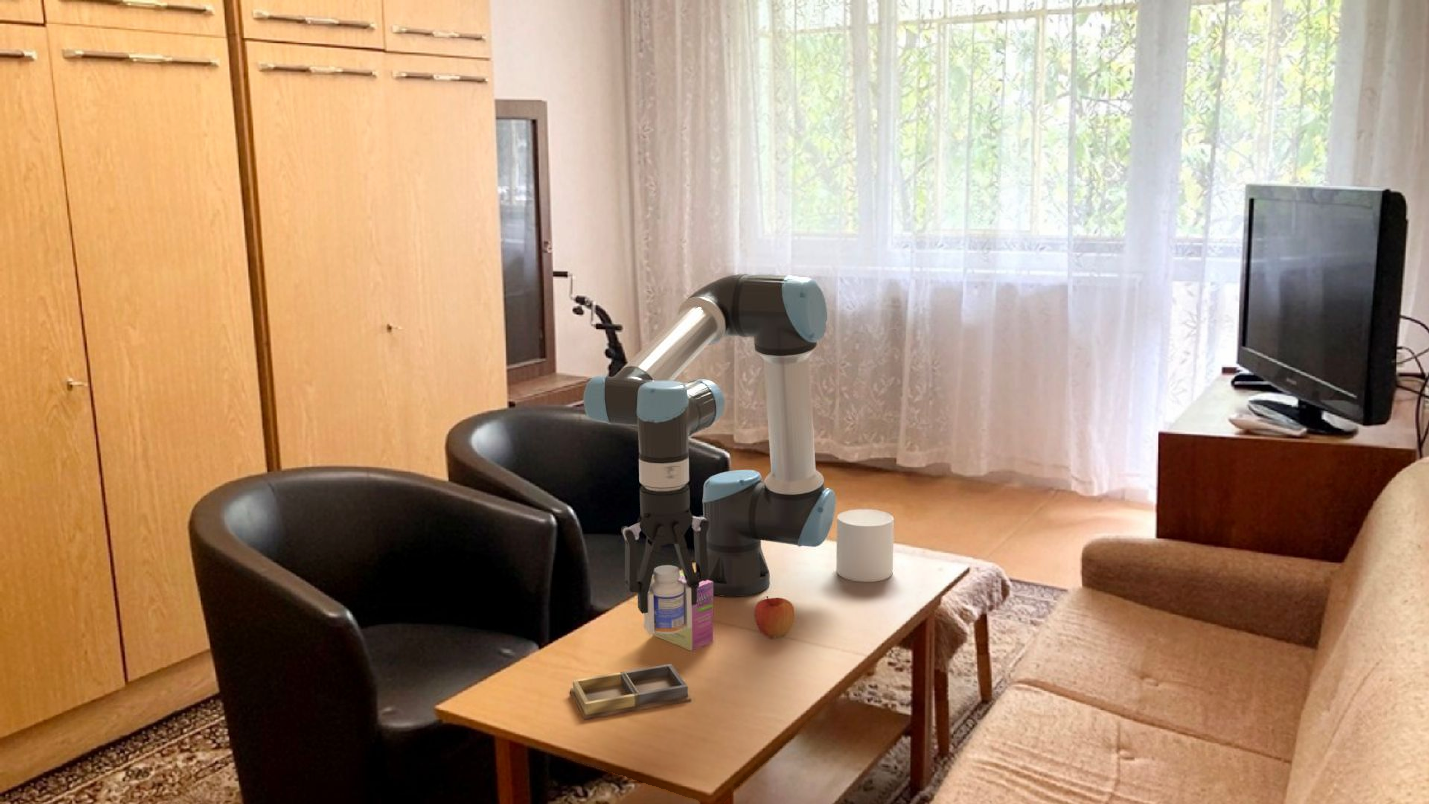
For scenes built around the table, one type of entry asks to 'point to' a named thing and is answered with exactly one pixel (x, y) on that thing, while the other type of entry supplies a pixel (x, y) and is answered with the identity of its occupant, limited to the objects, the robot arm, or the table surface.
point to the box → (696, 620)
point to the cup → (865, 545)
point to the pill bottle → (668, 600)
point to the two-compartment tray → (629, 691)
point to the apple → (774, 616)
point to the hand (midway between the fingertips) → (668, 627)
